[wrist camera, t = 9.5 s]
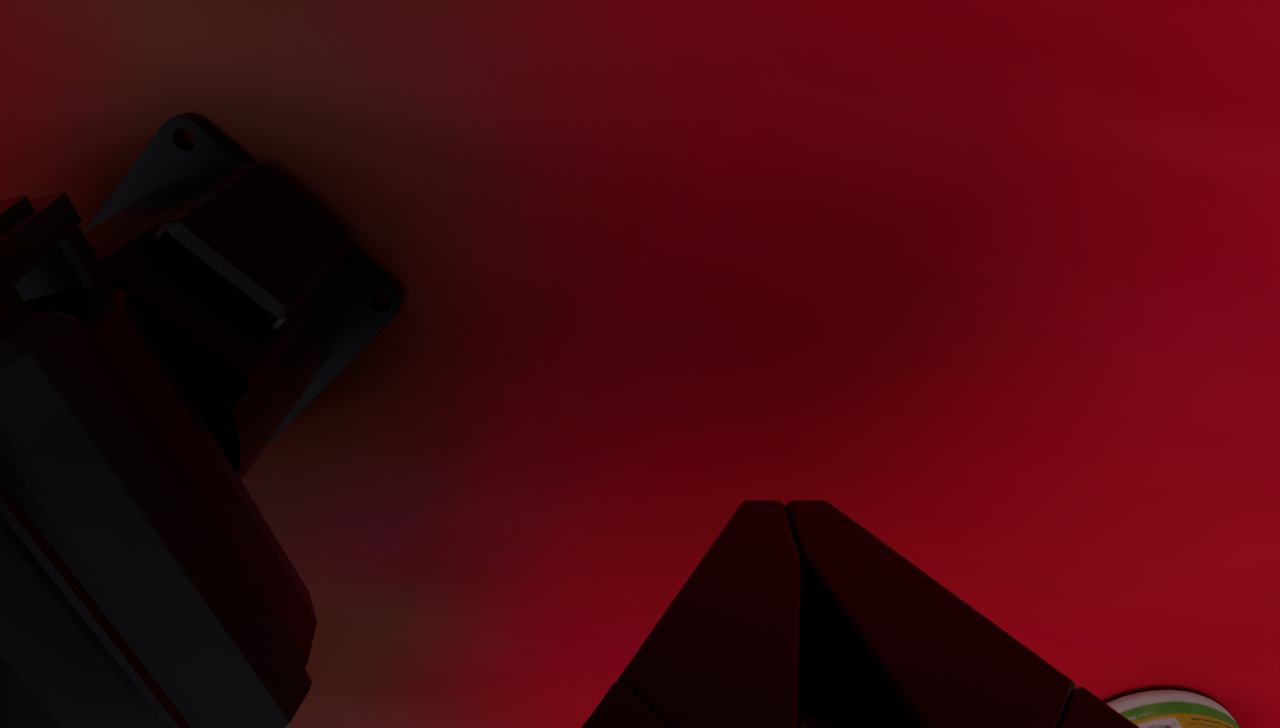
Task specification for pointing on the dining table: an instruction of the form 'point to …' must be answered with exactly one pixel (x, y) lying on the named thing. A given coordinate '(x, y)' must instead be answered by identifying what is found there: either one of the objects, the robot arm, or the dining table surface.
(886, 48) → the dining table surface
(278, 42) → the dining table surface
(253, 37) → the dining table surface
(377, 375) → the dining table surface
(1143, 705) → the supplement bottle
